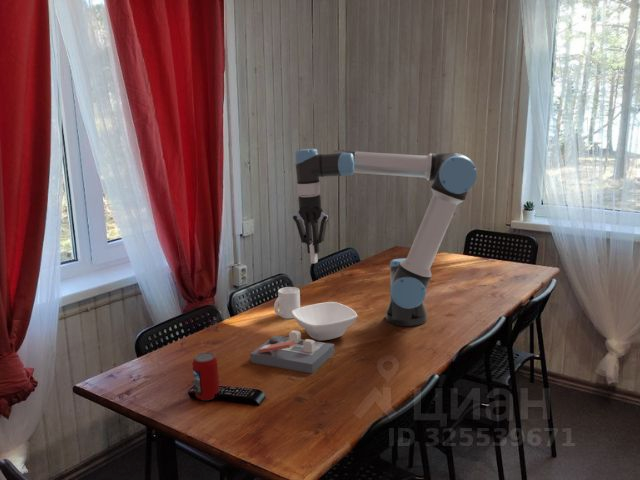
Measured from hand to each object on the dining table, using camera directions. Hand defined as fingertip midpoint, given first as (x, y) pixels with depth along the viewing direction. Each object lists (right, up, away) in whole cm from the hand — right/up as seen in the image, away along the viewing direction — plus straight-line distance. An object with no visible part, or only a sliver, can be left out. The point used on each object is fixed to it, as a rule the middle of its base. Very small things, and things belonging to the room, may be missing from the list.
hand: (314, 262), depth 197 cm
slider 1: (-6, -26, -10) cm, 28 cm away
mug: (-11, -22, +22) cm, 33 cm away
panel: (-7, -30, -14) cm, 34 cm away
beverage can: (-30, -36, -37) cm, 60 cm away
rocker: (-12, -26, -19) cm, 34 cm away
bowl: (+4, -26, +2) cm, 27 cm away
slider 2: (-1, -27, -18) cm, 33 cm away
